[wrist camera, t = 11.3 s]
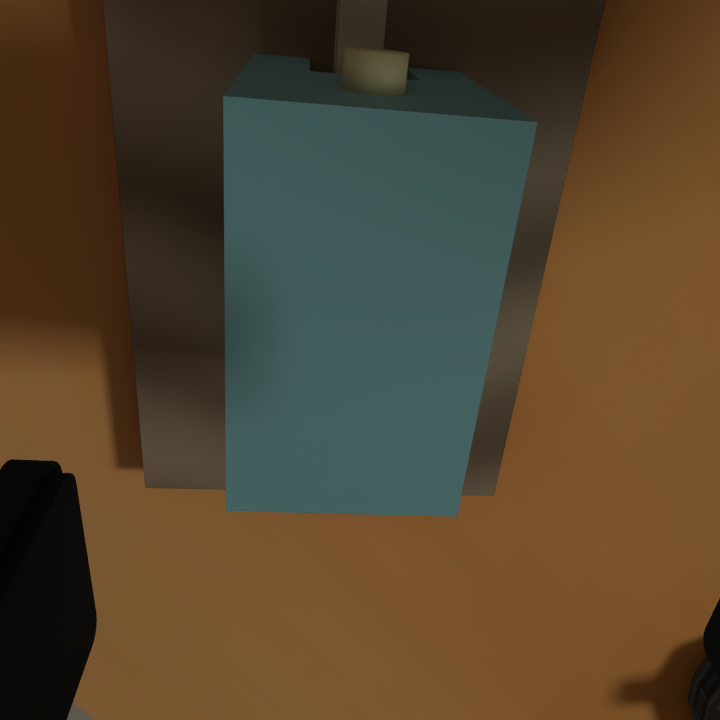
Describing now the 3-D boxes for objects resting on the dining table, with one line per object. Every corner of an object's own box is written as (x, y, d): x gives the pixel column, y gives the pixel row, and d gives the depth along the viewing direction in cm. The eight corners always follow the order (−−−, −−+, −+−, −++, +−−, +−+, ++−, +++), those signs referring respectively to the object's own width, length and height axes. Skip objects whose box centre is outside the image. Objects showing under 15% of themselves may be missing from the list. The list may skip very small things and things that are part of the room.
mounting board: (96, -222, 17) (55, -260, 15) (624, -160, 19) (679, -184, 16) (151, 468, 28) (133, 523, 25) (487, 477, 29) (505, 530, 27)
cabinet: (254, 22, 19) (222, 48, 12) (463, 42, 20) (546, 77, 13) (250, 358, 25) (226, 510, 18) (416, 366, 25) (456, 516, 18)
